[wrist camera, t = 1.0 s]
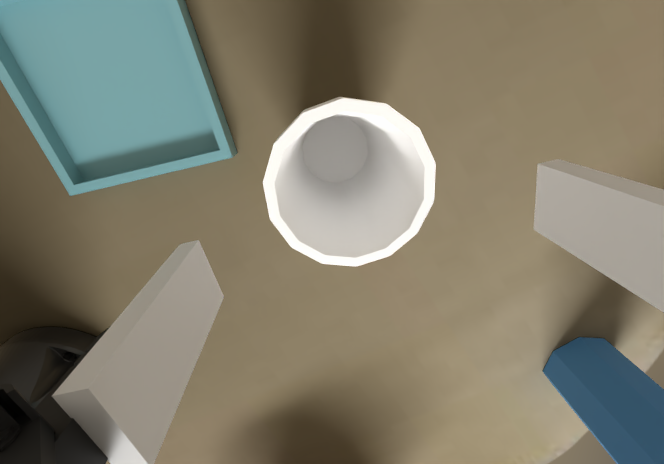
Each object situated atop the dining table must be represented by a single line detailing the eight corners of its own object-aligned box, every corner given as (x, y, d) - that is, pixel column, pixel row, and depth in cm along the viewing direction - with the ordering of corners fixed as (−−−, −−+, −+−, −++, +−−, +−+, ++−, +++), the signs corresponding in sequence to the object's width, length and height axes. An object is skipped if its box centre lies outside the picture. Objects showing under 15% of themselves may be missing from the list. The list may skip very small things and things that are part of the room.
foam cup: (276, 99, 27) (248, 108, 15) (383, 87, 27) (438, 87, 15) (292, 203, 31) (280, 275, 19) (386, 193, 31) (431, 257, 19)
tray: (85, 189, 29) (70, 195, 27) (-23, 1, 23) (-52, -6, 21) (237, 152, 29) (232, 157, 27) (167, -49, 23) (155, -61, 21)
